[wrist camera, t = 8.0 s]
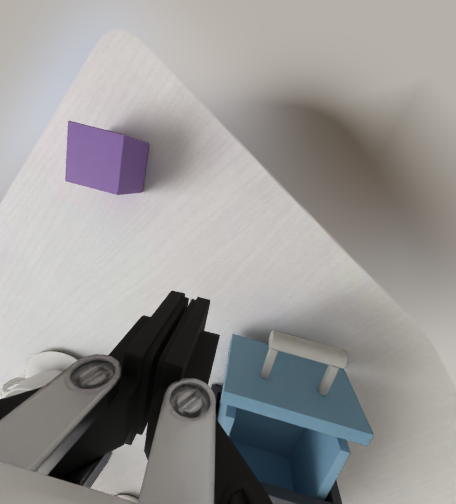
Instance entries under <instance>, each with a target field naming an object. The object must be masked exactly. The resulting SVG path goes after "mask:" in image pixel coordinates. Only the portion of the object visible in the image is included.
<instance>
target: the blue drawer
mask: <svg viewBox="0 0 456 504" xmlns="http://www.w3.org/2000/svg"><path fill="white" fill-rule="evenodd" d="M347 363H348V354H347V352H346V351H345V350H342V349H338V348H334V347H331V346H327V345H324V344H320V343H317V342H313V341H310V340H306V339H302V338H299V337H295V336H292V335H288V334H285V333H281V332H277V331H274V330H273V331H272V332H271V334H270V337H269V344H267V343H263V342H259V341H256V340H252V339H249V338H245V337H242V336H238V335H235V334H233V335H232V339H231V342H230V348H229V353H228V359H227V365H226V371H225V377H224V383H223V389H222V395H221V400H220V403H219V406H218V410H217V413H216V419H217V420H218V422H219V423H220V425H221V426H222V428H223V429H224V431H225V432H226V434H227V435H228V436H229V438H230V439H231V441H232V442H233V444H234V445H235V447H236V448H237V450H238V451H239V452H240V454H241V455H242V457H243V458H244V460H245V461H246V463H247V464H248V466H249V467H250V468H251V470H252V471H253V473H254V474H255V476H256V477H257V479H258V480H259V481H261V482H265V483H268V484H271V485H274V486H278V487H281V488H284V489H287V490H291V491H294V492H297V493H300V494H304V495H307V496H310V497H313V498H317V499H320V500H323V501H324V500H325V498H326V497H327V495H328V493H329V491H330V489H331V488H332V486H333V484H334V482H335V480H336V479H337V477H338V475H339V473H340V471H341V469H342V468H343V466H344V464H345V462H346V460H347V459H348V457H349V455H350V450H349V447H348V444H347V441H346V440H348V441H352V442H355V443H359V444H362V445H365V446H368V445H369V443H370V441H371V439H372V438H373V436H374V434H373V432H372V430H371V427H370V425H369V423H368V421H367V419H366V416H365V414H364V412H363V410H362V408H361V406H360V403H359V401H358V399H357V397H356V395H355V392H354V390H353V388H352V386H351V384H350V381H349V379H348V377H347V375H346V373H345V371H344V368H345V367H346V366H347Z"/></svg>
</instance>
